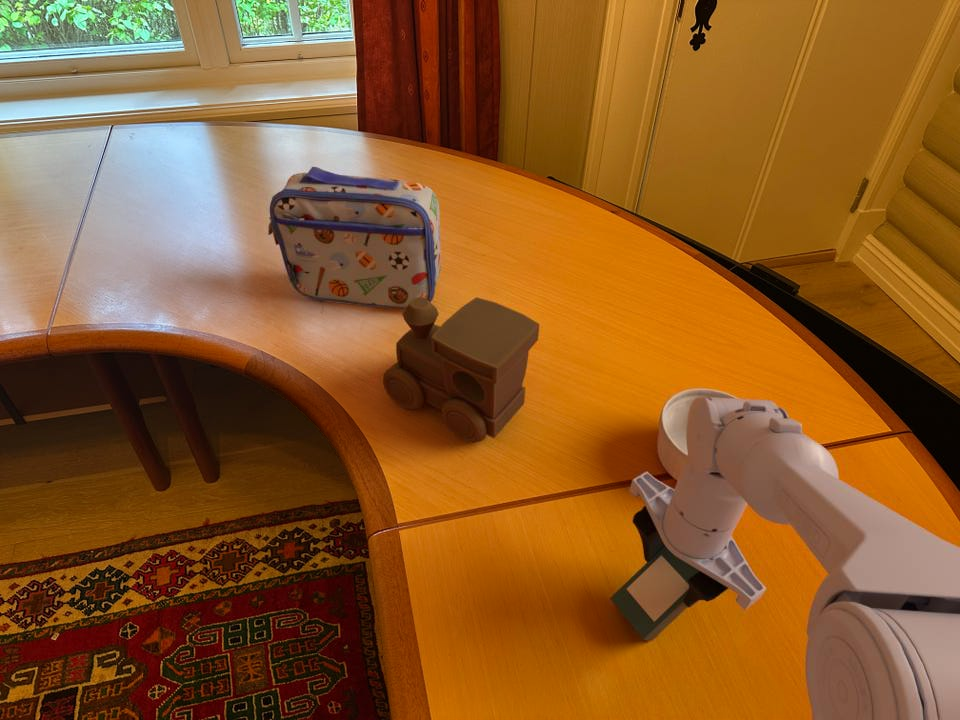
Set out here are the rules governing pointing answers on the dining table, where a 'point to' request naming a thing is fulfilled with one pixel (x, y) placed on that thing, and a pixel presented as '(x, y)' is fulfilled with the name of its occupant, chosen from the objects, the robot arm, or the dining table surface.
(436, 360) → the wooden toy train
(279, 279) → the dining table surface
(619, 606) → the carton
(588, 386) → the dining table surface
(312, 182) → the lunch box
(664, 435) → the ramekin
